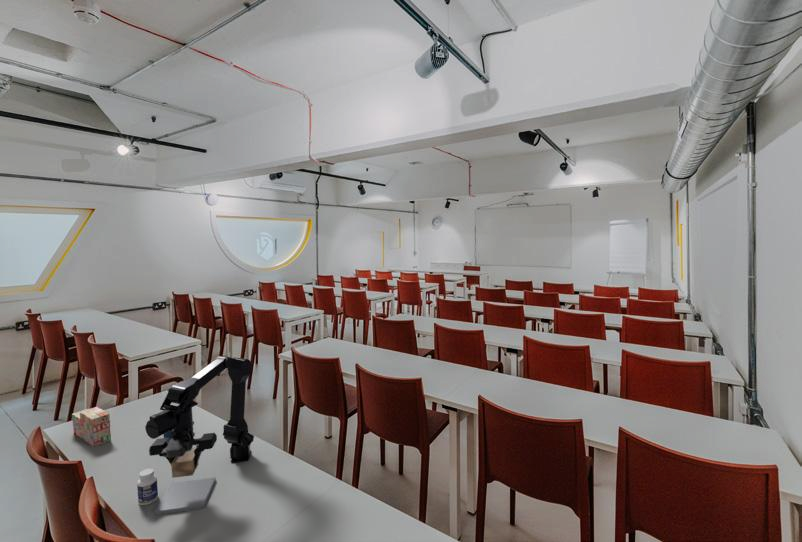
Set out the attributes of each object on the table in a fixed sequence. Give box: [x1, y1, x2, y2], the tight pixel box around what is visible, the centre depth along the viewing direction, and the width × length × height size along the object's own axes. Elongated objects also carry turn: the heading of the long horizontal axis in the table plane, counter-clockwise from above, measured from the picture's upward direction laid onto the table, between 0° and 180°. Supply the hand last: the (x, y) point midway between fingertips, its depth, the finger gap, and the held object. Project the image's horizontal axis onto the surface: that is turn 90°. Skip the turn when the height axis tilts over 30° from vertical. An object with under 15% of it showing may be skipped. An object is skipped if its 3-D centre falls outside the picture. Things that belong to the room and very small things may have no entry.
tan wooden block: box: [170, 450, 199, 479], centre depth 123 cm, size 6×6×5 cm
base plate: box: [153, 477, 217, 516], centre depth 124 cm, size 14×14×1 cm
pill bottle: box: [136, 468, 159, 506], centre depth 122 cm, size 5×5×10 cm
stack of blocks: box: [71, 406, 112, 448], centre depth 162 cm, size 21×6×12 cm, turn 59°
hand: (185, 468), depth 123 cm, fingers closed on tan wooden block, 6 cm apart
